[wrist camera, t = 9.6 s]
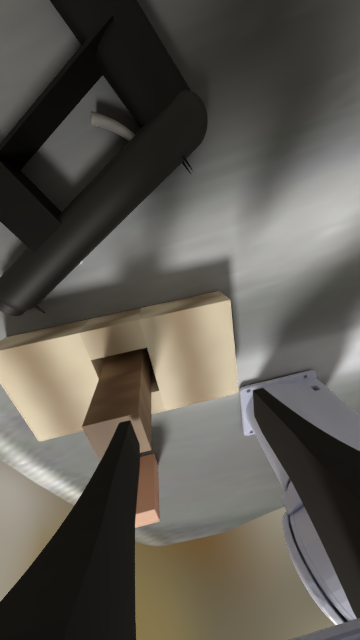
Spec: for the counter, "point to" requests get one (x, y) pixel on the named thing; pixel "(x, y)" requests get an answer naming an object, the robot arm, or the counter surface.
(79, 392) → the socket block
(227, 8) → the counter surface
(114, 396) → the walnut peg
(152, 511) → the salmon brown flat block
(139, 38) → the door handle
